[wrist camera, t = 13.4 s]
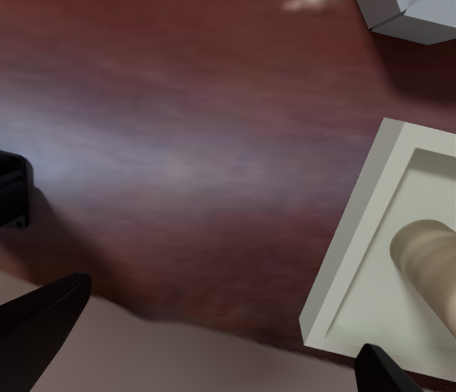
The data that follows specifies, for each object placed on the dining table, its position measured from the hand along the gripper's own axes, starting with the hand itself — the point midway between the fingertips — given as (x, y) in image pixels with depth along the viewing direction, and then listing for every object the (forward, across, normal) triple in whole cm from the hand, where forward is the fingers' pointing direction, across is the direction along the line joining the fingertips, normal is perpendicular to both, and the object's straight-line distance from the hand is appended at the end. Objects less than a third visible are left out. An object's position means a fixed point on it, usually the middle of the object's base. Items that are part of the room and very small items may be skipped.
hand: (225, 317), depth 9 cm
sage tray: (+13, -17, +2) cm, 21 cm away
